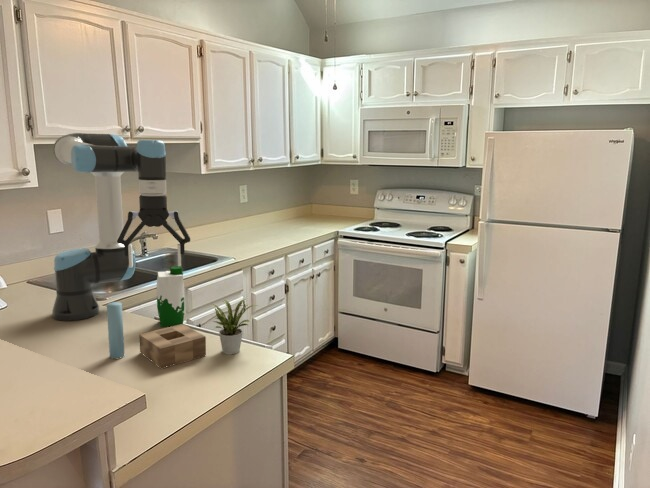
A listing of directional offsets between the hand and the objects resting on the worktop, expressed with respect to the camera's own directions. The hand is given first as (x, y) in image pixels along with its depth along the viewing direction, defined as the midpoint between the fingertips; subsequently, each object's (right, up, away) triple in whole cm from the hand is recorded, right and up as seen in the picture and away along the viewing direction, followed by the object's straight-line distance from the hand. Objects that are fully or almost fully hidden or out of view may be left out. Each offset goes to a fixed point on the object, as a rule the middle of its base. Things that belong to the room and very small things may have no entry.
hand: (155, 266), depth 145 cm
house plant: (+23, -26, +6) cm, 35 cm away
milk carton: (-4, -21, +27) cm, 35 cm away
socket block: (+5, -26, +1) cm, 27 cm away
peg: (-11, -26, -2) cm, 29 cm away
